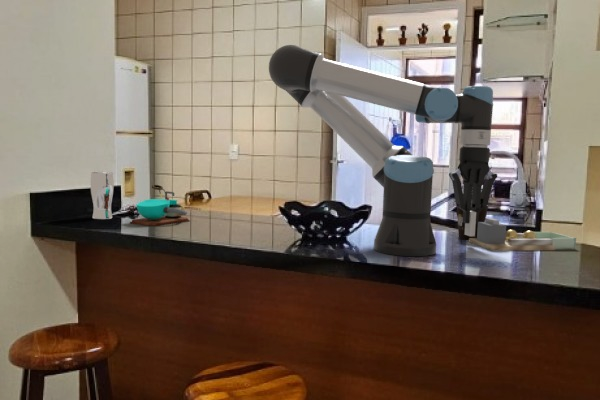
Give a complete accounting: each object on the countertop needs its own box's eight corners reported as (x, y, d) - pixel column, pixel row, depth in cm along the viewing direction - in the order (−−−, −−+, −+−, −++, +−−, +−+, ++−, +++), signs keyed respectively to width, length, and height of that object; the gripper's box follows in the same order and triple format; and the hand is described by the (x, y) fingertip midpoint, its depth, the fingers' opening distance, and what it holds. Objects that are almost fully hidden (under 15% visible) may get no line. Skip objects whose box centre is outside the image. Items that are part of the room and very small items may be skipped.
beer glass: (89, 220, 167) (88, 173, 165) (93, 217, 174) (92, 171, 172) (112, 220, 168) (111, 173, 167) (115, 217, 175) (114, 172, 174)
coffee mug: (487, 242, 148) (490, 206, 147) (456, 240, 150) (458, 205, 149) (482, 235, 159) (484, 202, 158) (452, 233, 161) (454, 201, 160)
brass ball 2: (527, 243, 141) (528, 231, 141) (520, 241, 144) (521, 229, 144) (538, 243, 142) (539, 231, 141) (530, 241, 145) (531, 229, 144)
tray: (552, 249, 140) (552, 238, 139) (528, 242, 150) (529, 232, 149) (575, 249, 141) (576, 238, 141) (550, 242, 151) (551, 231, 151)
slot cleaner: (487, 244, 138) (489, 220, 138) (476, 240, 144) (478, 217, 143) (504, 243, 139) (506, 220, 139) (493, 240, 145) (494, 217, 144)
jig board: (492, 251, 135) (493, 240, 135) (468, 242, 147) (469, 232, 147) (554, 250, 139) (555, 240, 138) (526, 241, 150) (527, 232, 150)
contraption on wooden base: (199, 222, 170) (200, 176, 168) (157, 229, 154) (157, 178, 153) (168, 218, 177) (168, 173, 175) (125, 224, 162) (124, 175, 160)
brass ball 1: (508, 242, 142) (509, 230, 141) (502, 240, 145) (502, 228, 145) (519, 242, 142) (520, 230, 142) (512, 240, 146) (513, 228, 145)
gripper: (458, 146, 133) (453, 238, 135) (505, 147, 135) (499, 237, 138) (445, 145, 140) (440, 233, 143) (489, 147, 143) (484, 232, 145)
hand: (469, 235), depth 140 cm, fingers closed
